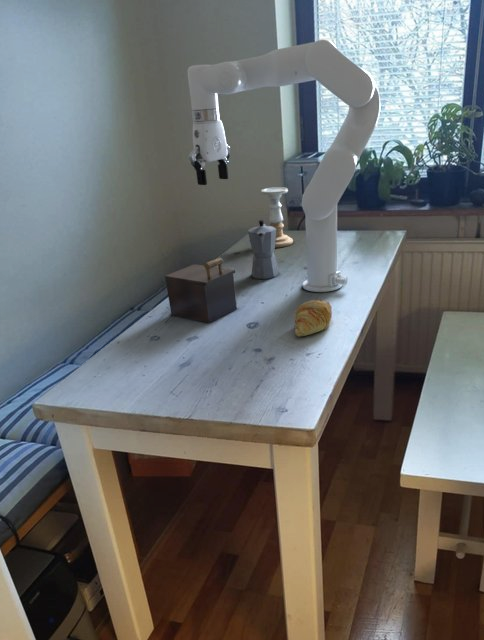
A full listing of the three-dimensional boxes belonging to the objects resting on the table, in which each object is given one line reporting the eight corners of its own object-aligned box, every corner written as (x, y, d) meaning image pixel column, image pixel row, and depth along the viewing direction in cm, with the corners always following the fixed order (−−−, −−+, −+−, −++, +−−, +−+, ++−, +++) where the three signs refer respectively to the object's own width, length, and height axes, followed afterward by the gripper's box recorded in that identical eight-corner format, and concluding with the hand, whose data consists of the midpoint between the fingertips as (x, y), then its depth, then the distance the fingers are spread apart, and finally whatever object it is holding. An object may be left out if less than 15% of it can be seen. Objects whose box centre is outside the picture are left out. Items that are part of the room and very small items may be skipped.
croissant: (309, 353, 157) (321, 329, 152) (276, 333, 158) (288, 308, 153) (335, 322, 173) (348, 299, 168) (306, 304, 174) (317, 281, 169)
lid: (235, 272, 174) (233, 255, 171) (206, 285, 165) (203, 267, 163) (194, 266, 182) (192, 249, 179) (165, 278, 174) (162, 261, 171)
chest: (236, 309, 180) (233, 272, 174) (209, 323, 172) (204, 285, 166) (199, 301, 188) (194, 266, 182) (171, 314, 179) (165, 278, 174)
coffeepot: (277, 280, 201) (274, 224, 191) (249, 281, 202) (244, 225, 192) (280, 266, 214) (277, 213, 204) (253, 268, 214) (249, 215, 205)
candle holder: (264, 240, 247) (260, 187, 236) (294, 239, 245) (292, 185, 234) (260, 248, 237) (255, 193, 226) (291, 247, 235) (288, 191, 224)
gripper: (195, 119, 163) (203, 187, 172) (235, 113, 174) (241, 177, 184) (175, 120, 167) (184, 186, 176) (215, 113, 178) (222, 176, 188)
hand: (213, 181), depth 180 cm, fingers open, 9 cm apart
